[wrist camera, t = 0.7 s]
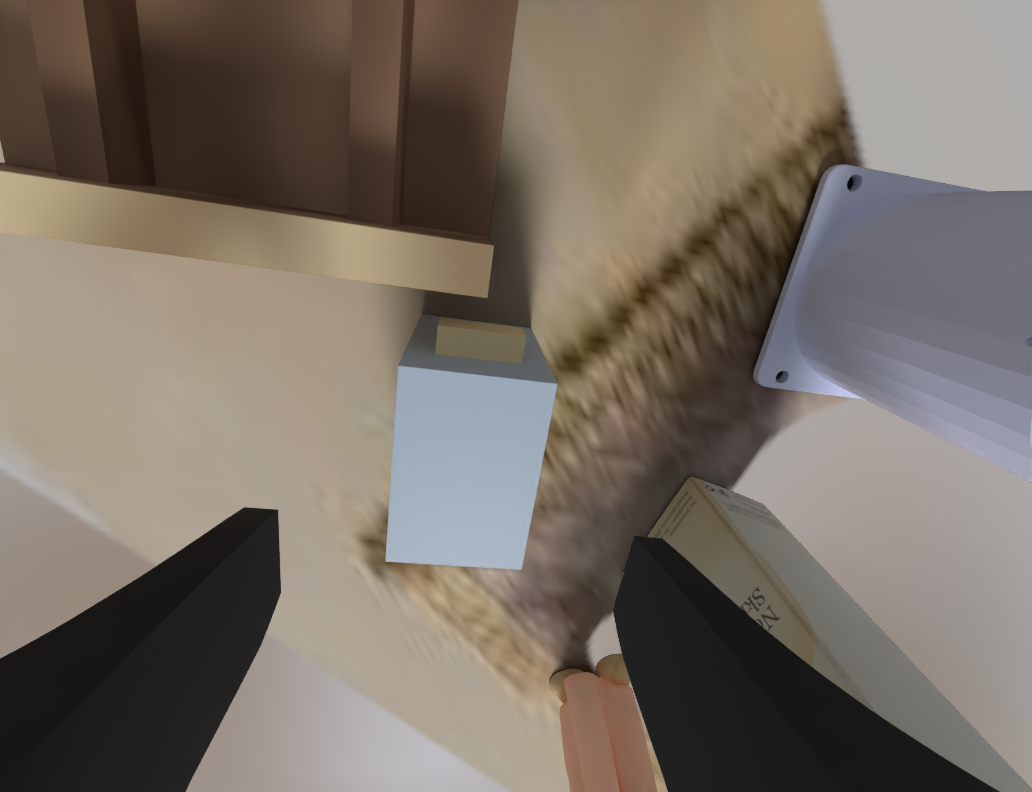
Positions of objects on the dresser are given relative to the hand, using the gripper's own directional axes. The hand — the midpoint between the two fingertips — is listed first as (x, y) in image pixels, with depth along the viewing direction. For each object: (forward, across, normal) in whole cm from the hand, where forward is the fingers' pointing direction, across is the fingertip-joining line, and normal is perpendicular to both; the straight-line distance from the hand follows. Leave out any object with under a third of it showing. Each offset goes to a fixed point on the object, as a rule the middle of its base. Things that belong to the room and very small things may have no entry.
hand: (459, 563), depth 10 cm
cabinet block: (+10, 0, 0) cm, 10 cm away
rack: (+9, +7, -10) cm, 15 cm away
